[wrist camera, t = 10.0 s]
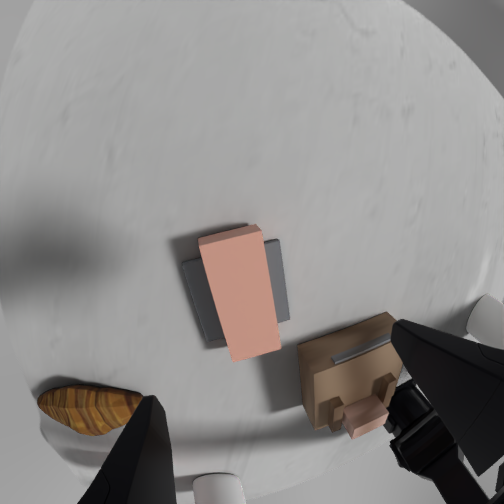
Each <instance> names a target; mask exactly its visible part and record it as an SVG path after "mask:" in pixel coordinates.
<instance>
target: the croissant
mask: <svg viewBox="0 0 504 504" xmlns="http://www.w3.org/2000/svg"><path fill="white" fill-rule="evenodd" d="M143 397H144V396H143V395H142V394H141V393H137V392H133V391H129V390H124V389H118V388H112V387H96V386H91V385H80V384H76V385H70V386H65V387H63V388H54V389H51V390H49V391H46V392H45V393H43V394H41V395H40V396H39V397H38V400H37V404H38V406H39V408H40V409H41V410H42V411H43V412H44V413H46V414H47V415H48V416H50V417H51V418H52V419H54V420H56V421H58V422H60V423H62V424H64V425H65V426H68V427H70V428H71V429H73V430H75V431H76V432H78V433H80V434H85V435H89V436H97V435H104V434H106V433H108V432H109V431H111V430H112V429H115V428H118V427H121V426H123V425H125V424H127V423H128V421H129V419H130V418H131V416H132V414H133V413H134V411H135V409H136V408H137V406H138V404H139V403H140V401H141V399H142V398H143Z"/></svg>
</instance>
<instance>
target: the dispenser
mask: <svg viewBox="0 0 504 504" xmlns="http://www.w3.org/2000/svg"><path fill="white" fill-rule="evenodd" d="M396 321H397V320H395V319H394V318H393V317H392V316H391V315H390V314H389V313H388V312H385V313H383V314H380V315H378V316H375V317H373V318H371V319H368V320H366V321H363V322H361V323H358V324H355V325H353V326H350V327H348V328H345V329H342V330H340V331H337V332H334V333H331V334H329V335H326V336H323V337H320V338H317V339H314V340H311V341H308V342H305V343H302V344H299V345H297V347H298V357H299V368H300V379H301V390H302V403H303V407H304V409H305V411H306V413H307V415H308V417H309V419H310V421H311V423H312V426H313V428H314V430H318V429H321V428H323V427H326V426H329V427H330V429H331V431H332V432H335V431H337V430H340V429H341V425H342V423H343V425H344V427H345V428H346V430H347V432H348V434H349V435H350V437H351V439H355V438H357V437H359V436H361V435H363V434H365V433H367V432H369V431H372V430H374V429H376V428H377V427H379V426H381V425H383V424H385V422H386V419H387V416H388V414H389V412H388V411H387V409H386V407H388V406H389V403H390V400H391V397H392V396H393V395H394V392H395V389H396V385H397V382H398V379H399V375H400V372H401V368H402V364H403V362H402V361H401V359H400V357H399V355H398V354H397V352H396V350H395V349H394V347H393V345H392V343H391V339H390V337H391V331H392V325H393V323H394V322H396Z"/></svg>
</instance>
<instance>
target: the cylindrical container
mask: <svg viewBox="0 0 504 504" xmlns="http://www.w3.org/2000/svg"><path fill="white" fill-rule="evenodd" d="M466 330H467V332H468V333H470V334H471V335H472V336H473V337H474V338H476V339H477V340H478V341H479V342H480V343H482V344H484V345H487V346H491V347H494V348H498V349H503V350H504V304H503V303H502V302H500V301H499V300H498V299H496V298H495V297H493V296H491V295H490V294H485V295H484V296H483V297H482V298H481V299H480V300H479V301H478V303H477V304H476V305H475V307H474V309H473V310H472V312H471V314H470V317H469V319H468V322H467V326H466Z"/></svg>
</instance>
